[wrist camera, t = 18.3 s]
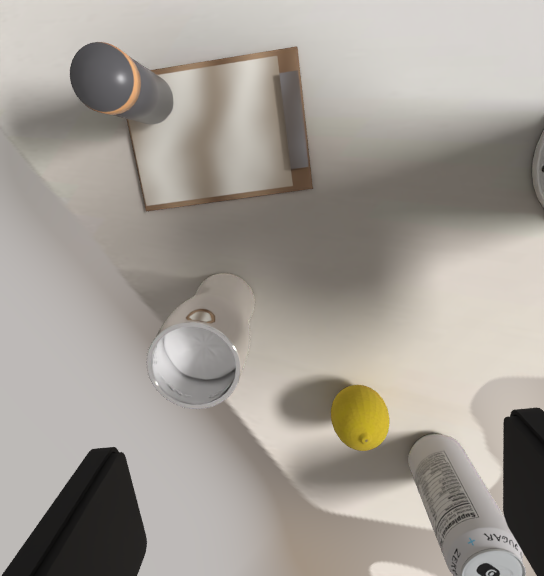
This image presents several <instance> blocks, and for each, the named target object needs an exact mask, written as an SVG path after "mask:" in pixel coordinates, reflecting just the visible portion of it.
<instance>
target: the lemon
mask: <svg viewBox="0 0 544 576" xmlns="http://www.w3.org/2000/svg"><path fill="white" fill-rule="evenodd" d="M331 421H332V424H333V427H334V430H335V432H336V434H337V435H338V437H339V438H340V440H341V441H342V442H343V443H345V444H346V445H347V446H348V447H350V448H352V449H355V450H359V451H367V450H371V449H374V448H376V447H377V446H379V445H380V444H381V443H382V442H383V441H384V439H385V438H386V435H387V433H388V429H389V414H388V409H387V407H386V405H385V403H384V401H383V399H382V398H381V397H380V395H379V394H378V393H377V392H376V391H374V390H373V389H371V388H369V387H366V386H363V385H352V386H349V387H346V388H344V389H343V390H341V391H340V392H339V393H338V394H337V395H336V397H335V399H334V401H333V404H332V408H331Z"/></svg>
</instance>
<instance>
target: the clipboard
mask: <svg viewBox="0 0 544 576" xmlns="http://www.w3.org/2000/svg"><path fill="white" fill-rule="evenodd" d="M150 71H152V72H153V73H155V74H156V75H158V76H159V77H161V78H162V79H163V80H165V81H166V83H167V84H168V85H169V87H170V89H171V91H172V94H173V110H172V112H171V114H170V115H169V116H168V117H167V118H166V119H165V120H164V121H162V122H161V123H158V124H152V125H151V124H145V123H141V122H137V121H134V120H130V119H127V123H128V127H129V132H130V137H131V142H132V147H133V151H134V156H135V161H136V166H137V170H138V175H139V180H140V185H141V189H142V194H143V199H144V204H145V209H146V211H152V210H159V209H167V208H174V207H181V206H189V205H196V204H203V203H211V202H218V201H225V200H233V199H240V198H247V197H255V196H262V195H269V194H277V193H284V192H292V191H299V190H306V189H313V186H312V177H311V168H310V158H309V149H308V140H307V131H306V122H305V112H304V103H303V94H302V85H301V76H300V67H299V57H298V48H297V47H291V48H285V49H279V50H273V51H267V52H260V53H254V54H248V55H242V56H236V57H230V58H223V59H217V60H211V61H205V62H199V63H193V64H186V65H180V66H174V67H168V68H162V69H156V70H150Z"/></svg>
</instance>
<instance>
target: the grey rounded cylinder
mask: <svg viewBox="0 0 544 576" xmlns="http://www.w3.org/2000/svg"><path fill="white" fill-rule="evenodd" d="M70 80H71V84H72V87H73V90H74V92H75V94H76V95H77V97H78V98H79V99H80V100H81V101H82V102H83V103H84V104H85V105H86V106H87V107H89V108H90V109H92V110H94V111H97V112H101V113H105V114H110V115H115V116H119V117H123V118H126V119H130V120H134V121H137V122H141V123H145V124H151V125H152V124H158V123H161V122H162V121H164V120H165V119H166V118H167V117H168V116H169V115H170V114H171V112H172V110H173V94H172V91H171V89H170V87H169V85H168V84H167V83H166V81H165V80H163V79H162V78H161V77H159V76H158V75H156V74H155V73H153V72H152V71H150V70H149V69H147V68H146V67H144V66H143V65H141V64H140V63H138V62H137V61H135V60H133V59H132V58H130V57H129V56H128V55H127V54H126V53H124V52H123V51H121V50H120V49H118V48H117V47H115V46H113V45H111V44H108V43H104V42H95V43H90V44H87V45H85V46H84V47H82V48H81V49H80V50H79V51H78V52H77V53H76V55H75V56H74V58H73V60H72V63H71V67H70Z"/></svg>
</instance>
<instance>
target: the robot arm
mask: <svg viewBox="0 0 544 576" xmlns="http://www.w3.org/2000/svg"><path fill="white" fill-rule="evenodd" d="M542 167H543V168H544V131H543V132H542V135H541V137H540V139H539V141H538V143H537V146H536V150H535V153H534V157H533V166H532V178H533V185H534V189H535V192H536V195H537V198H538V200H539V201H540V203H541V205H542V206H543V208H544V169H543V171H542V170H541V169H542ZM503 454H504V457H503V458H504V459H503V478H504V479H503V511H504V517H505V520H506V523H507V526H508V528H509V529H510V531H511V533H512V534H513V536H514V538H515V540H516V541H517V543H518V545H519V546H520V548H521V550H522V551H523V553H524V555H525V556H526V558H527V560H528V561H529V563H530V565H531V566H532V568H533V570H534V572H535V573H536V575H537V576H544V411H543V410H542V409H540V408H529V409H518V410H513V411H512V412H511V415H510V417H506V418H505V419H504V451H503ZM146 547H147V539H146V534H145V530H144V526H143V522H142V518H141V515H140V511H139V508H138V503H137V500H136V496H135V492H134V488H133V484H132V480H131V476H130V472H129V469H128V465H127V461H126V457H125V455H124V453H122V452H118V450H117V449H116V448H115V447H110V448H98V449H92V450H91V451H90V452H89V453H88V454H87V456H86V457H85V459H84V460H83V461H82V463H81V464H80V466H79V467H78V468H77V470H76V471H75V473H74V474H73V475H72V477H71V478H70V480H69V481H68V483H67V484H66V485H65V487H64V488H63V490H62V491H61V492H60V494H59V496H58V497H57V498H56V499H55V501H54V502H53V504H52V505H51V507H50V508H49V510H48V511H47V512H46V514H45V515H44V517H43V518H42V519H41V521H40V522H39V524H38V525H37V526H36V528H35V529H34V531H33V532H32V533H31V535H30V536H29V538H28V539H27V541H26V542H25V544H24V545H23V546H22V548H21V549H20V550H19V552H18V553H17V555H16V556H15V558H14V559H13V560H12V562H11V563H10V565H9V566H8V567H7V569H6V570H5V572H4V573H3V574H2V576H137V574H138V572H139V569H140V566H141V563H142V561H143V558H144V556H145V552H146Z"/></svg>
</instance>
